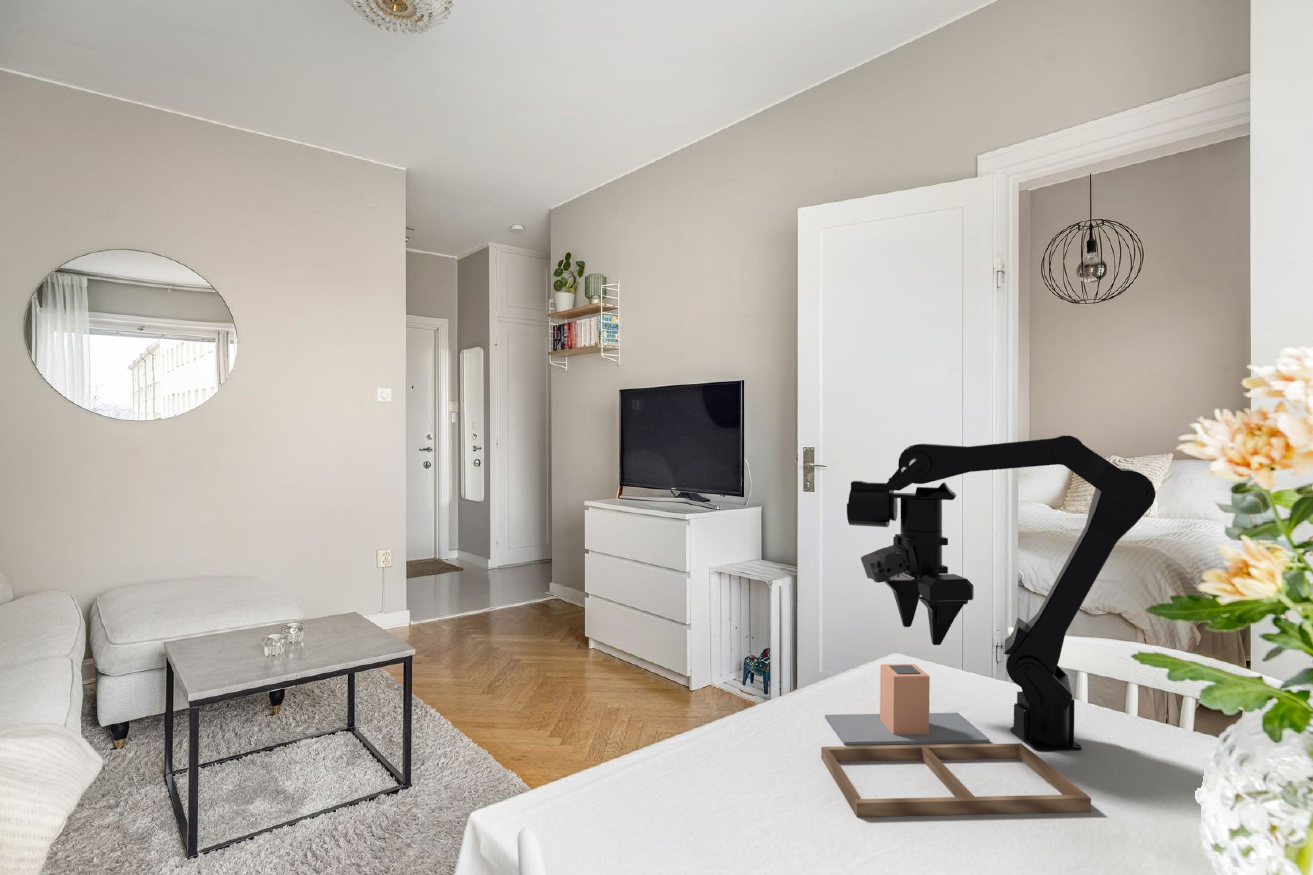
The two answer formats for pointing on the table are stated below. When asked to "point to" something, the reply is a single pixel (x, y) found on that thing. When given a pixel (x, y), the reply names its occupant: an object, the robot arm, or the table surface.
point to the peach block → (904, 698)
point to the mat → (875, 732)
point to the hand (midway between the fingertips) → (921, 635)
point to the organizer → (953, 781)
